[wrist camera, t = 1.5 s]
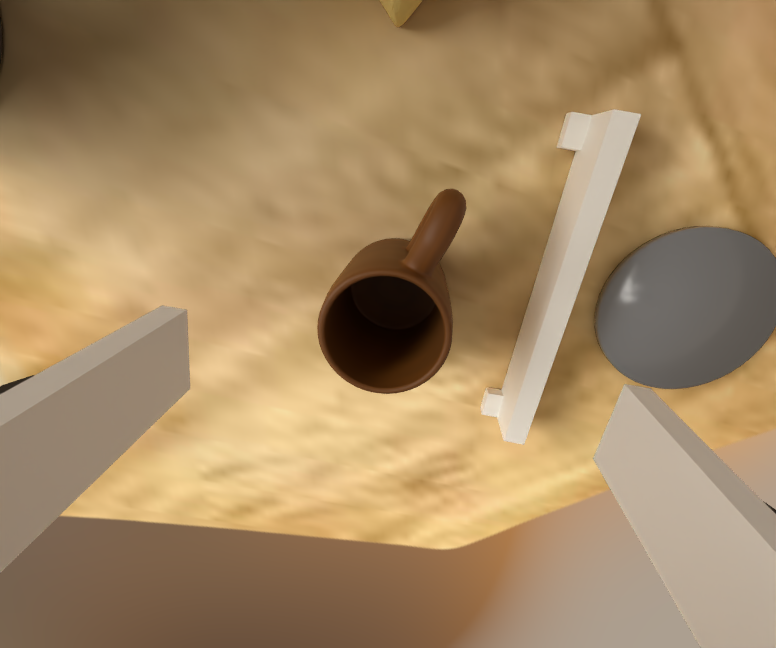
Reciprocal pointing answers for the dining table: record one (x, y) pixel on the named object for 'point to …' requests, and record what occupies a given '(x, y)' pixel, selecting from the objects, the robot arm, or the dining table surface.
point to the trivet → (688, 307)
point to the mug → (394, 306)
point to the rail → (562, 262)
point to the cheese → (400, 9)
